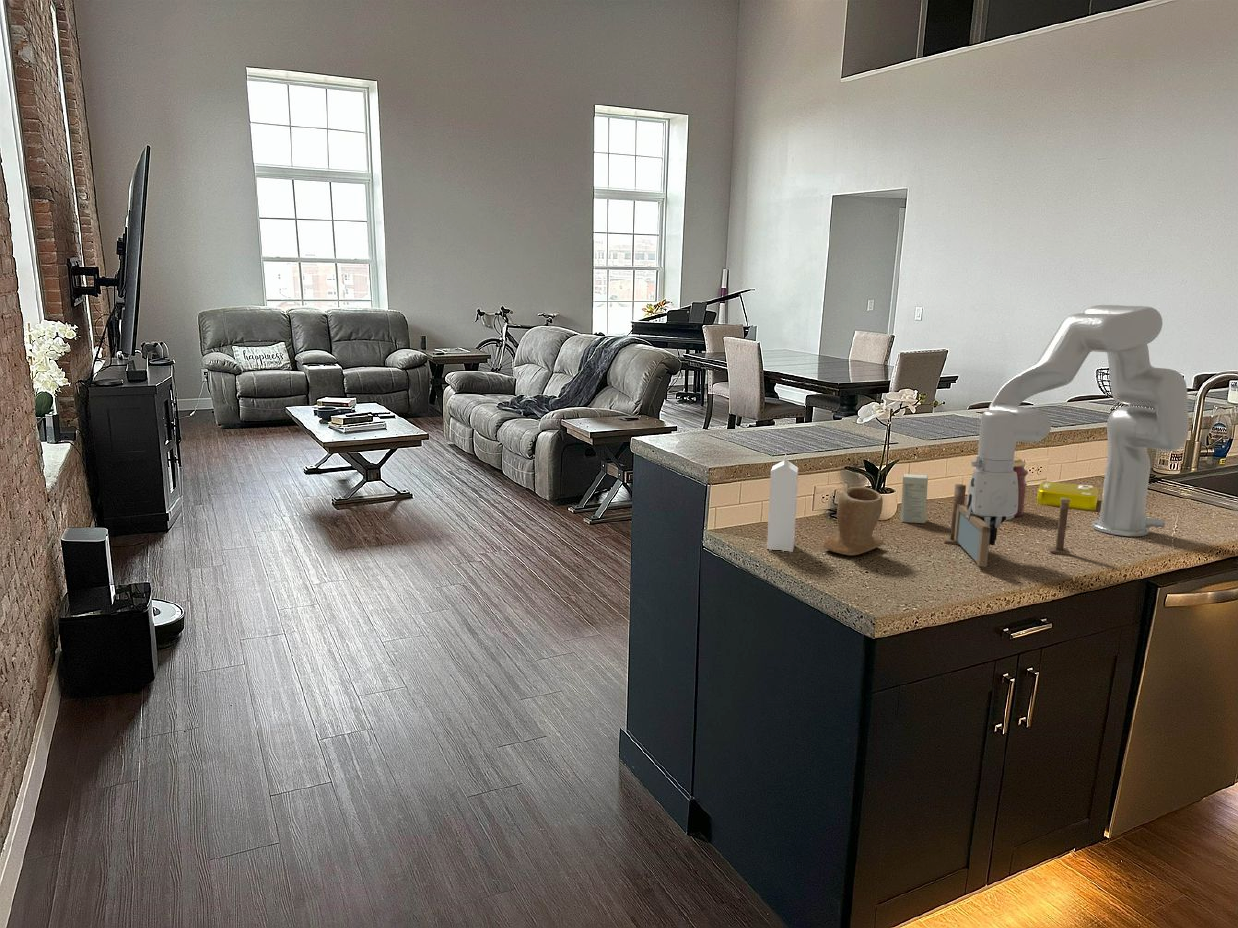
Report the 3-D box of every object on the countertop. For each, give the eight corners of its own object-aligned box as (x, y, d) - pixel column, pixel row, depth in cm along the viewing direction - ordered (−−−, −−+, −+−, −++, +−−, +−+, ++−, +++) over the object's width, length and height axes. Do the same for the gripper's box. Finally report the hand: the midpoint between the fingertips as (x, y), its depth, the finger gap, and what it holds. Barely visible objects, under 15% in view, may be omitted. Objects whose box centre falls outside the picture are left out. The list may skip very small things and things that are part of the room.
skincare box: (925, 519, 224) (929, 474, 221) (925, 524, 220) (929, 478, 217) (899, 517, 226) (903, 472, 223) (899, 521, 222) (903, 476, 219)
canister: (972, 515, 229) (978, 451, 225) (971, 504, 241) (977, 443, 237) (1025, 520, 224) (1032, 455, 221) (1022, 508, 236) (1029, 446, 232)
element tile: (1040, 494, 255) (1041, 478, 254) (1096, 501, 247) (1099, 485, 246) (1035, 505, 242) (1037, 488, 241) (1095, 512, 235) (1097, 495, 234)
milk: (766, 550, 197) (770, 457, 192) (768, 542, 203) (772, 452, 198) (793, 552, 195) (797, 459, 191) (794, 544, 201) (798, 453, 197)
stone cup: (858, 563, 188) (863, 498, 185) (815, 550, 197) (819, 488, 194) (897, 550, 198) (902, 488, 194) (854, 539, 206) (858, 479, 203)
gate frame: (944, 543, 203) (949, 486, 201) (943, 537, 208) (949, 482, 205) (1070, 555, 195) (1077, 496, 192) (1066, 549, 199) (1073, 492, 196)
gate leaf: (954, 539, 203) (957, 503, 201) (960, 539, 203) (964, 504, 201) (978, 566, 184) (982, 527, 182) (986, 566, 184) (990, 527, 182)
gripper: (970, 469, 186) (963, 549, 190) (1036, 468, 187) (1028, 547, 191) (955, 462, 193) (948, 539, 197) (1018, 461, 194) (1010, 537, 198)
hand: (987, 543), depth 194 cm, fingers closed
